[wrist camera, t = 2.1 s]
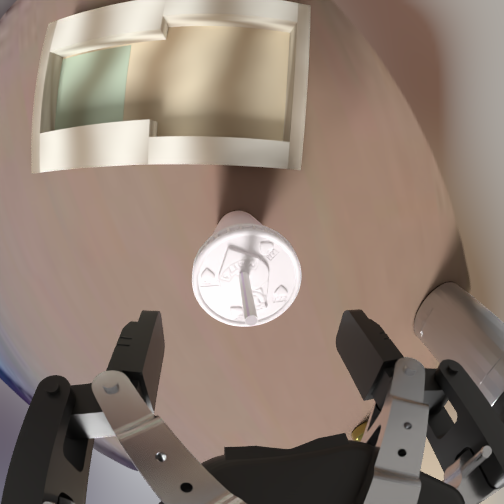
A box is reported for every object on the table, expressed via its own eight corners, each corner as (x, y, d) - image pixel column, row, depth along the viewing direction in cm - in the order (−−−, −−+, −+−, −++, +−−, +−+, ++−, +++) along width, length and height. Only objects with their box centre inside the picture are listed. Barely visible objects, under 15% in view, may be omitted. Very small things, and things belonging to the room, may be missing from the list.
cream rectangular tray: (298, 22, 18) (310, 5, 14) (289, 166, 23) (300, 170, 20) (67, 34, 15) (49, 23, 12) (53, 168, 20) (31, 173, 17)
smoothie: (255, 182, 23) (300, 234, 10) (284, 246, 26) (342, 346, 13) (188, 215, 24) (152, 302, 11) (221, 275, 26) (226, 393, 13)
